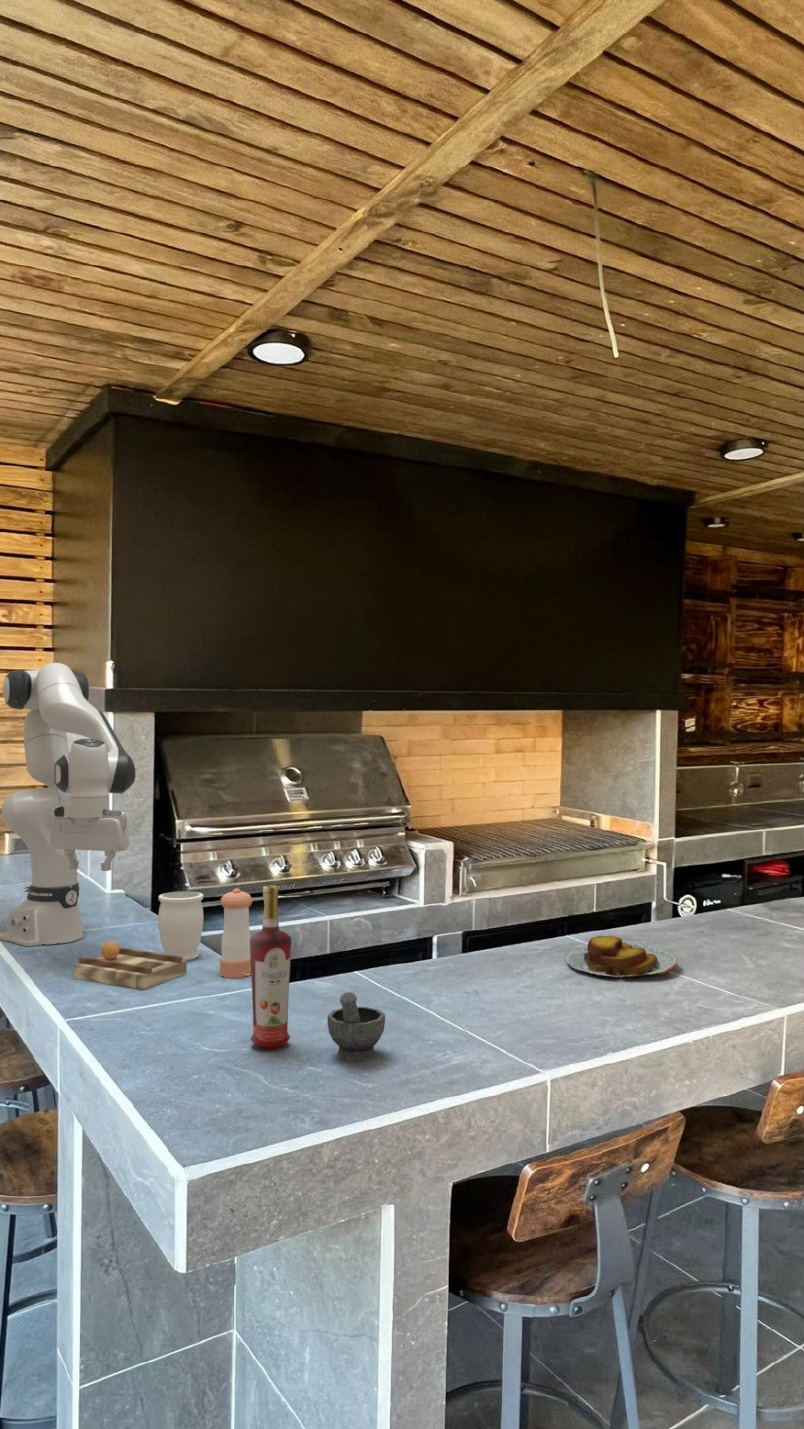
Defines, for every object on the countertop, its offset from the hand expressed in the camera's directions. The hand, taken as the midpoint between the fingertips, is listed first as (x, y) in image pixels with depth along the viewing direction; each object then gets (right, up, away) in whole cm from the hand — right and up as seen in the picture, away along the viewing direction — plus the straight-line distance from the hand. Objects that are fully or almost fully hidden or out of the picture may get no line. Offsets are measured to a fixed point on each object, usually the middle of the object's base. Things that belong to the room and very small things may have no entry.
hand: (89, 869), depth 218 cm
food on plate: (+123, -23, +2) cm, 125 cm away
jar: (+19, -23, +10) cm, 31 cm away
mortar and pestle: (+64, -23, -56) cm, 88 cm away
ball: (+6, -18, -4) cm, 19 cm away
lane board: (+11, -23, -7) cm, 26 cm away
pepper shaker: (+35, -23, -5) cm, 42 cm away
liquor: (+49, -23, -51) cm, 74 cm away
